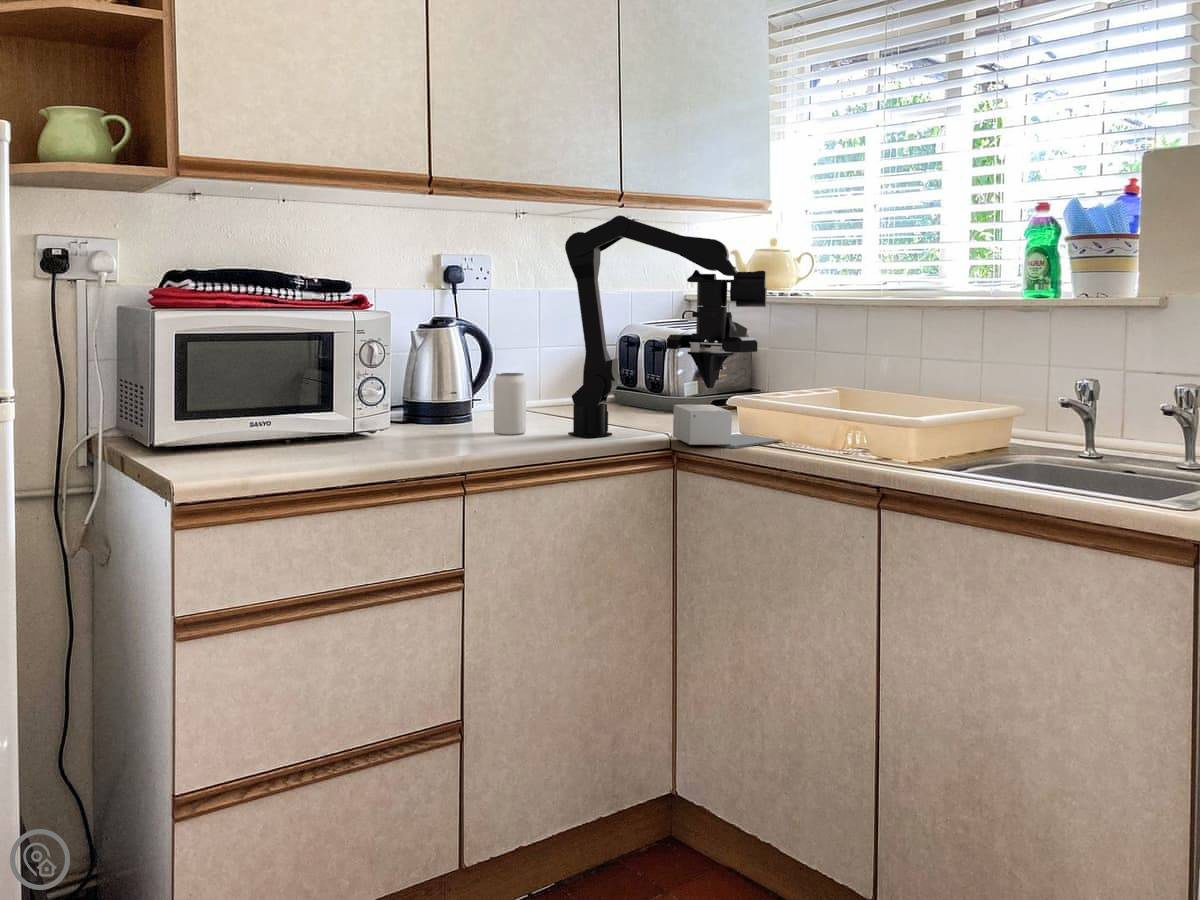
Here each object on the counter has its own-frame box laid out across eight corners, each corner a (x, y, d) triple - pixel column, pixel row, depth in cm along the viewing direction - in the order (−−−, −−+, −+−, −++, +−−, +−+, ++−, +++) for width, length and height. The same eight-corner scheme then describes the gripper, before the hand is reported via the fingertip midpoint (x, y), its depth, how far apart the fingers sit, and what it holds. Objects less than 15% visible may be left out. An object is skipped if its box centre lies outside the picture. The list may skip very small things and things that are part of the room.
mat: (734, 448, 195) (734, 445, 195) (690, 442, 203) (690, 439, 203) (782, 442, 204) (782, 439, 204) (737, 436, 212) (737, 434, 212)
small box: (672, 436, 208) (688, 445, 195) (673, 404, 207) (689, 410, 194) (712, 436, 209) (731, 445, 196) (713, 404, 208) (732, 410, 195)
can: (532, 433, 215) (532, 373, 213) (508, 436, 210) (508, 375, 208) (511, 430, 219) (510, 372, 217) (487, 433, 214) (486, 373, 213)
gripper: (777, 307, 203) (774, 389, 205) (703, 306, 216) (701, 383, 218) (739, 307, 195) (736, 392, 197) (665, 306, 209) (664, 385, 211)
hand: (709, 388), depth 206 cm, fingers closed
